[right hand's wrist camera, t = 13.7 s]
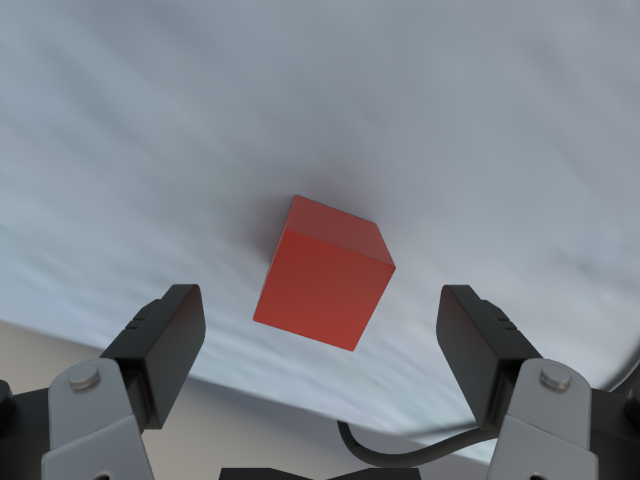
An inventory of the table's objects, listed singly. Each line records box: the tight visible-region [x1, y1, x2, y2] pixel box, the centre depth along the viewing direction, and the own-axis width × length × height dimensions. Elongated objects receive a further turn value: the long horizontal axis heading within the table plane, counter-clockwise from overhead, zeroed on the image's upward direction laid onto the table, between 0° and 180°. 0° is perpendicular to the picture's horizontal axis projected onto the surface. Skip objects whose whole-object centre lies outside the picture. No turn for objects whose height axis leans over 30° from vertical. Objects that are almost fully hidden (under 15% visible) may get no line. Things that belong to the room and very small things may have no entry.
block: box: [253, 195, 396, 351], centre depth 15 cm, size 4×4×5 cm
